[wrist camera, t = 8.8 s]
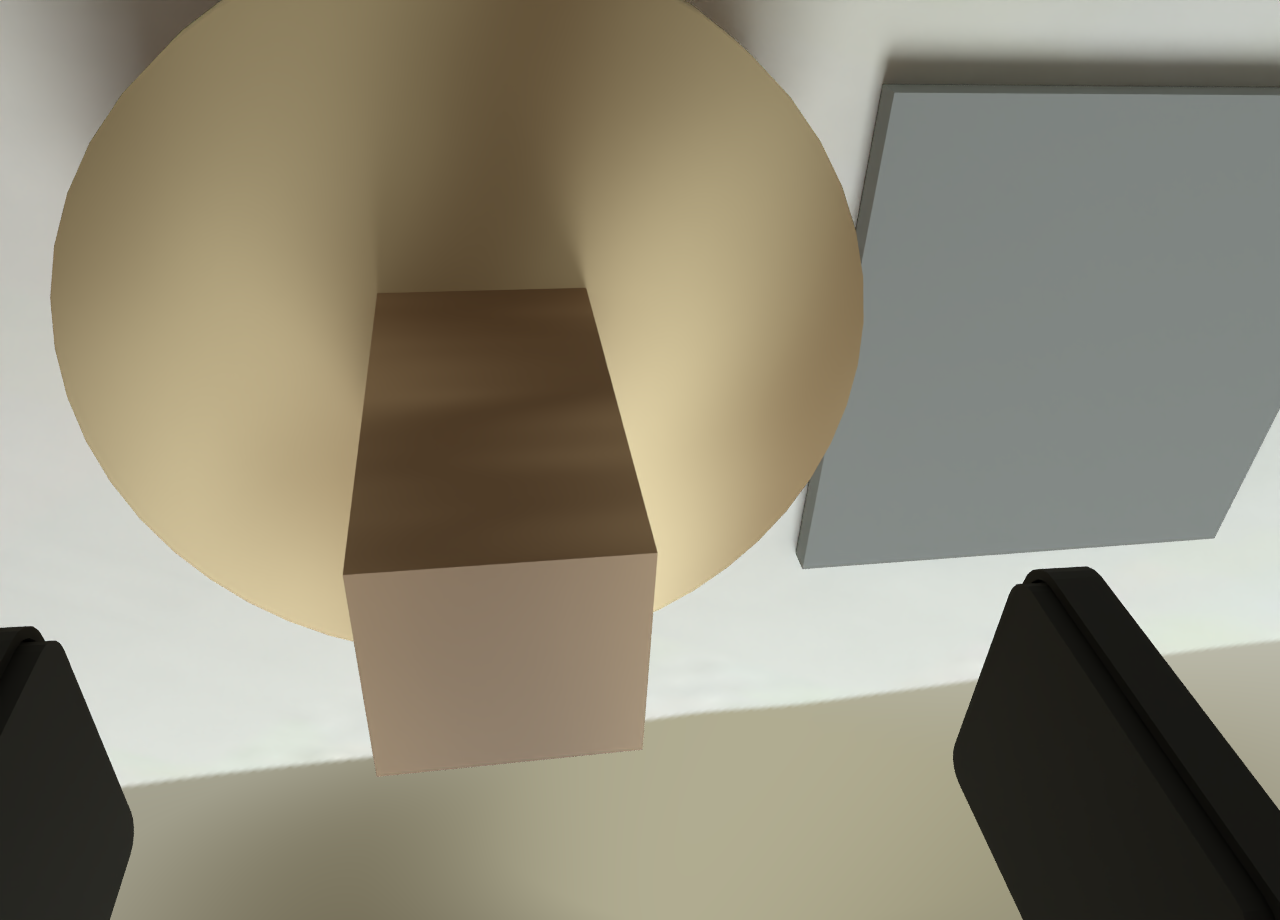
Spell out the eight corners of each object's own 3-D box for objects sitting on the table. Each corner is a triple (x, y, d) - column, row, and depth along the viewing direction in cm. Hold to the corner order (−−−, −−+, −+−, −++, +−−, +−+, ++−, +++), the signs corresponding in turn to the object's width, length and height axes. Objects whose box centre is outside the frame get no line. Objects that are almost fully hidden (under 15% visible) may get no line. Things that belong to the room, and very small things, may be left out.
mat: (1414, 88, 21) (1437, 96, 20) (1200, 525, 28) (1214, 538, 27) (882, 83, 19) (894, 92, 19) (795, 554, 26) (802, 569, 25)
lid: (910, -55, 13) (1248, 81, 8) (789, 593, 20) (923, 912, 15) (-56, -87, 11) (-535, 65, 6) (175, 641, 18) (58, 1029, 13)
